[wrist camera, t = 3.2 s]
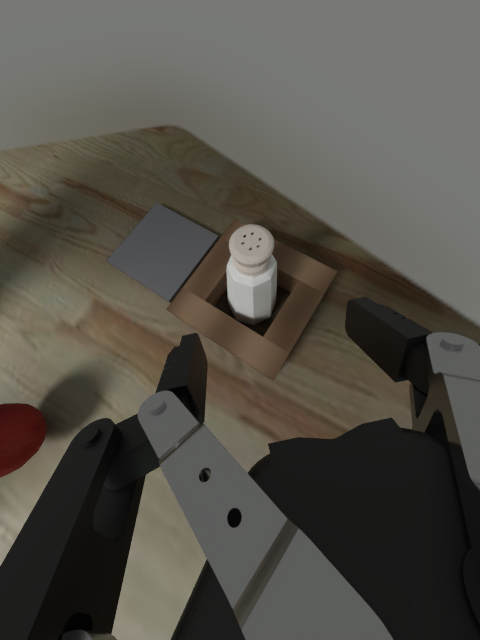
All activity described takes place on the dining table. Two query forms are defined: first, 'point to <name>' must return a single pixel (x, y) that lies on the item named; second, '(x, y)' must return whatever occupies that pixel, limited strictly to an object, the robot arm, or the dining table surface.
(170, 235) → the rubber pad
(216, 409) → the dining table surface
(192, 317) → the socket block
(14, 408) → the onion
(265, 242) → the pepper shaker
